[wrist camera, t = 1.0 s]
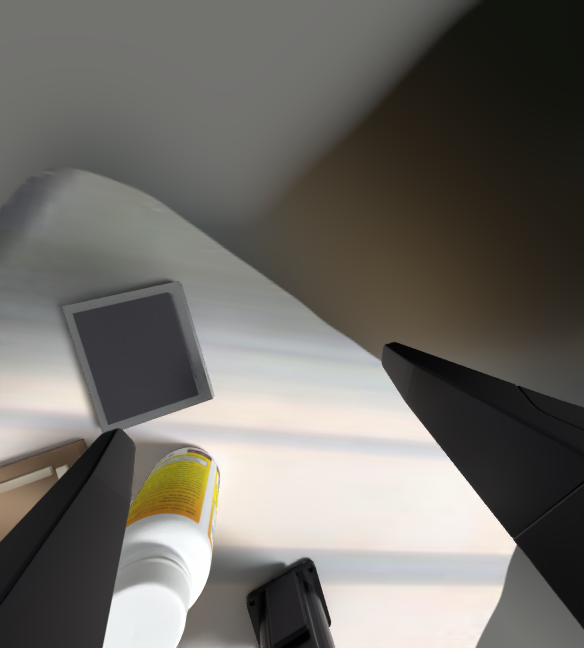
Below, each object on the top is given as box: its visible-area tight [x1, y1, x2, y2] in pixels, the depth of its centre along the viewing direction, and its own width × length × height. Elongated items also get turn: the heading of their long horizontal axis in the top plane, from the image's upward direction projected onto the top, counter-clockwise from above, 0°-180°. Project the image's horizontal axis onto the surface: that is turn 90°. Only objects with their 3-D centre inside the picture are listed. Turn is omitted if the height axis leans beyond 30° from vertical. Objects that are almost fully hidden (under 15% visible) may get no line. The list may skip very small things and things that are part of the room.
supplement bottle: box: [103, 448, 220, 648], centre depth 14 cm, size 6×6×10 cm
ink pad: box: [62, 281, 214, 433], centre depth 18 cm, size 10×8×2 cm
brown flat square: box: [0, 439, 87, 541], centre depth 16 cm, size 12×12×1 cm
